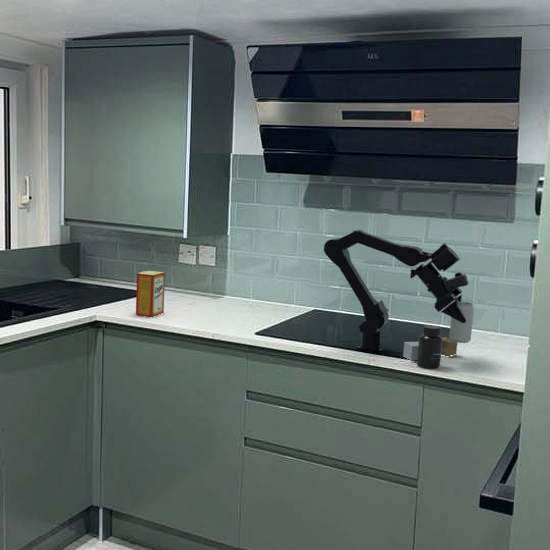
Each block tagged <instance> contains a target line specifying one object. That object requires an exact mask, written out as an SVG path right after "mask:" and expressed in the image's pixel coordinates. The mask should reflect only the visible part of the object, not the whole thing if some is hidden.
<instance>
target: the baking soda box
mask: <svg viewBox="0 0 550 550" xmlns="http://www.w3.org/2000/svg"><path fill="white" fill-rule="evenodd" d="M165 277H166V272H165V271H157V270H155V271H154V270H145V271H141V272H138V273H136V291H135V292H136V295H135V296H136V297H135V298H136V299H135V301H136V302H135V316H136V315H138V316H137V317H143V316H146V317H145V318H151V317H152V318H155V317H157V316H156V315H158V316H160V315H162V314H161V313H163V314H165V313H164V311H165V283H166V279H165ZM159 314H160V315H159ZM154 316H155V317H154Z"/></svg>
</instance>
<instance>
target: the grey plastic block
mask: <svg viewBox="0 0 550 550" xmlns="http://www.w3.org/2000/svg"><path fill="white" fill-rule="evenodd" d="M418 345H419V341H404V342H403V355H402V358H403V357H405V358H407V359H409V360H410V361H414V360H417V355H418ZM405 358H404V359H405ZM410 361H409V362H410Z"/></svg>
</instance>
